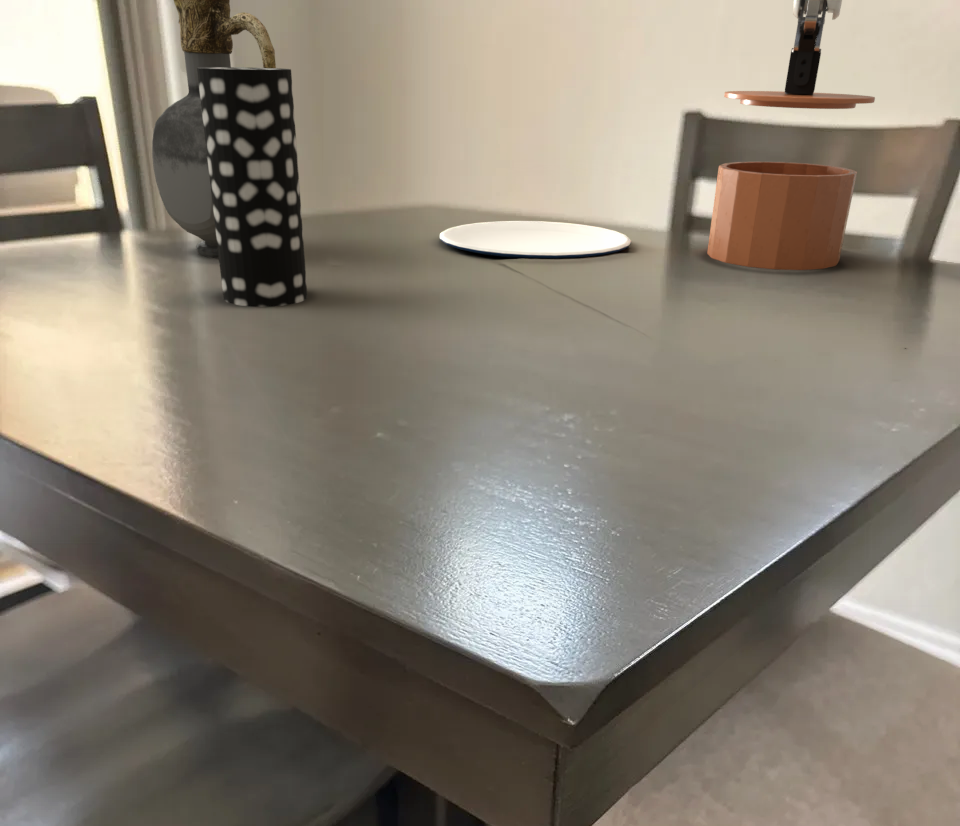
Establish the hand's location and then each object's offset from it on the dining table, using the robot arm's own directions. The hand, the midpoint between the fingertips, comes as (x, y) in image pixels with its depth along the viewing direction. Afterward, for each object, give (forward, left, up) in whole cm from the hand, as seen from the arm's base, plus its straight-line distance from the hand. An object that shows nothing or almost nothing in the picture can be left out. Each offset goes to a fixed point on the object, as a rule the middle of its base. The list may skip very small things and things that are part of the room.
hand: (799, 91), depth 111 cm
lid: (0, 0, -1) cm, 1 cm away
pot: (0, 0, -18) cm, 18 cm away
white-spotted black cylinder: (+63, +3, -19) cm, 66 cm away
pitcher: (+62, -21, -19) cm, 68 cm away
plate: (+24, -18, -19) cm, 35 cm away
